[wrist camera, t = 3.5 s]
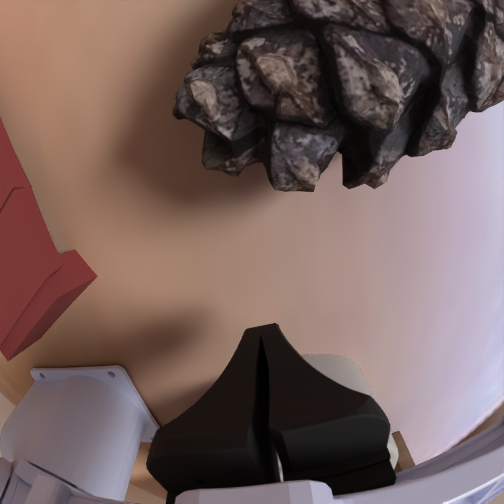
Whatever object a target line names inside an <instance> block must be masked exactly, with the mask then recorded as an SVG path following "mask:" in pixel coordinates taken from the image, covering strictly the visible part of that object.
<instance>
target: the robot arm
mask: <svg viewBox="0 0 504 504" xmlns="http://www.w3.org/2000/svg"><path fill="white" fill-rule="evenodd" d="M111 372H113V373H114V374H113V373H111ZM30 374H31V376H32V377H33V379H34V380H35V382H34V383H33V384H32V386H31V387H30V389H29V390H28V391H27V393H26V394H25V395H24V397H23V398H22V400H21V401H20V402H19V404H18V405H17V407H16V408H15V410H14V411H13V412H12V414H11V415H10V417H9V418H8V420H7V421H6V423H5V424H4V427H3V428H2V431H1V436H0V450H1V455H2V457H0V504H138V503H130V502H124V500H125V496H126V492H127V489H128V485H129V482H130V478H131V475H132V471H133V467H134V464H135V461H136V457H137V454H138V450H139V447H140V444H141V442H152V443H151V446H150V450H149V454H148V458H147V462H146V466H147V469H148V471H149V472H150V474H151V475H152V476H153V477H154V478H155V479H156V480H157V481H158V482H159V483H160V484H161V485H162V486H163V487H164V488H165V489H166V490H167V491H168V493H167V499H166V504H486V503H488V502H489V501H491V500H492V499H494V498H495V497H496V496H498V495H499V494H500V493H502V492H503V491H504V414H503V417H502V420H500V421H499V422H497V423H495V424H494V425H492V426H491V427H489V428H488V429H486V430H484V431H483V432H481V433H479V434H478V435H476V436H474V437H472V438H471V439H469V440H467V441H466V442H464V443H462V444H460V445H458V446H456V447H454V448H452V449H450V450H448V451H446V452H444V453H442V454H440V455H438V456H436V457H434V458H432V459H429V460H427V461H425V462H423V463H420V464H418V465H416V466H413V467H411V468H408V469H406V470H403V471H401V472H398V473H395V472H394V469H393V467H392V464H391V462H390V458H391V456H390V453H389V450H388V448H387V445H388V440H389V435H390V423H389V420H388V418H387V416H386V415H385V413H384V412H383V410H382V409H381V407H380V406H379V405H378V403H377V402H376V401H375V400H374V399H373V398H372V396H370V395H367V394H364V393H361V392H358V391H355V390H352V389H350V388H347V387H345V386H343V385H341V384H339V383H337V382H336V381H334V380H332V379H330V378H329V377H327V376H325V375H324V374H322V373H321V372H319V371H318V370H317V369H315V368H314V367H313V366H312V365H310V364H309V363H308V362H307V361H306V360H305V359H304V358H303V357H302V356H301V355H300V354H299V353H298V352H297V351H296V350H295V349H294V348H293V347H292V346H291V344H290V343H289V342H288V341H287V339H286V338H285V336H284V335H283V333H282V332H281V330H280V328H279V325H278V324H276V323H273V324H268V325H263V326H258V327H253V328H248V329H246V330H245V331H244V334H243V336H242V339H241V341H240V343H239V345H238V347H237V349H236V351H235V353H234V355H233V357H232V358H231V360H230V362H229V363H228V365H227V366H226V368H225V370H224V371H223V373H222V374H221V376H220V377H219V378H218V380H217V381H216V382H215V383H214V385H213V386H212V387H211V388H210V389H209V390H208V391H207V392H206V393H205V394H204V395H203V396H202V397H201V398H200V399H199V400H198V401H197V402H196V403H195V404H194V405H193V406H191V407H190V408H189V409H188V410H186V411H185V412H184V413H182V414H181V415H180V416H178V417H177V418H175V419H174V420H172V421H171V422H169V423H167V424H166V425H164V426H162V427H161V428H160V427H159V425H158V424H157V422H156V421H155V419H154V418H153V416H152V414H151V413H150V411H149V410H148V408H147V406H146V405H145V403H144V402H143V400H142V398H141V397H140V395H139V393H138V392H137V390H136V388H135V386H134V385H133V383H132V381H131V379H130V378H129V376H128V374H127V372H126V370H125V369H124V368H123V367H121V366H119V365H113V366H97V367H74V368H32V369H31V371H30ZM277 454H278V457H279V460H280V463H281V466H282V474H283V482H281V478H280V472H279V464H278V457H277Z"/></svg>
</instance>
